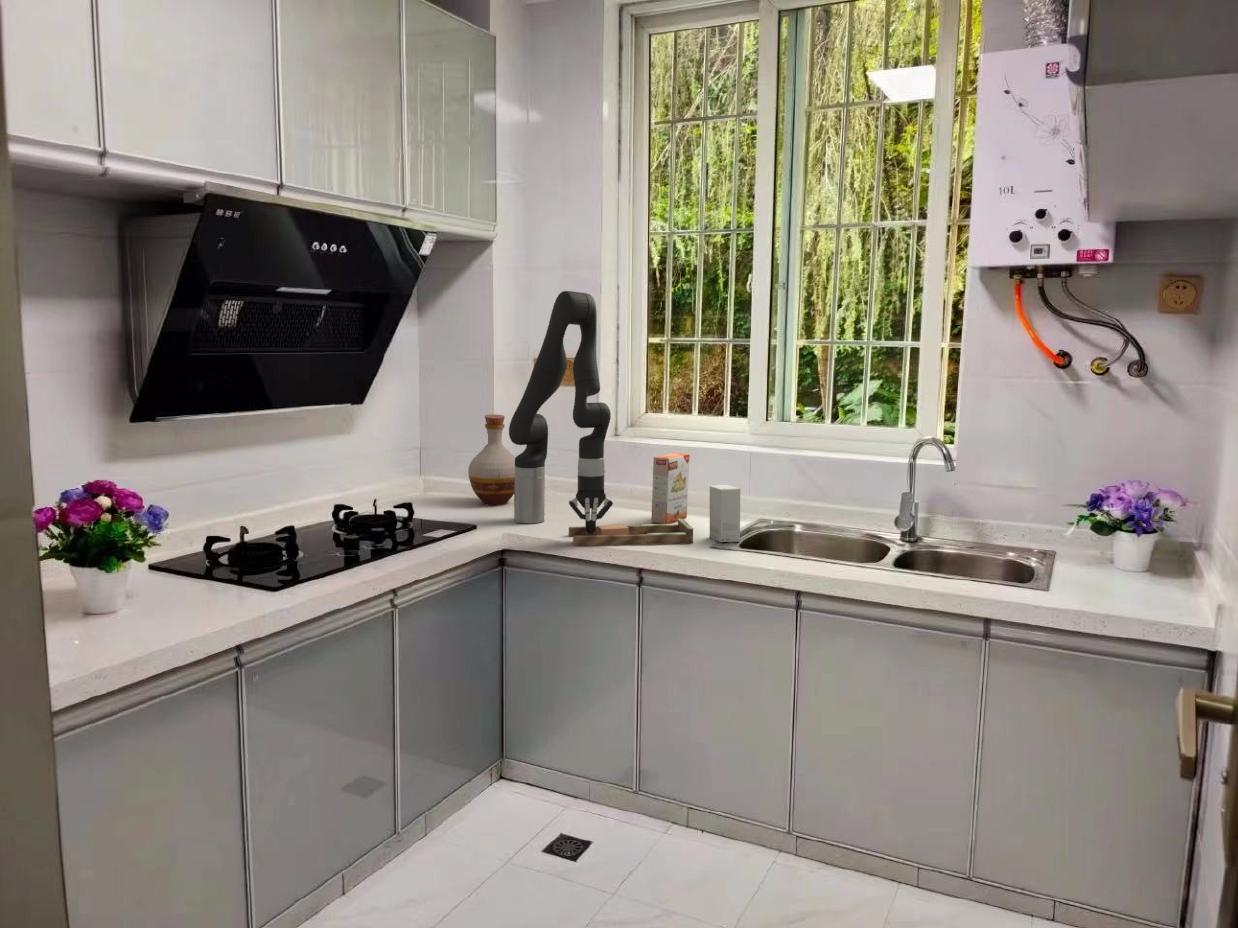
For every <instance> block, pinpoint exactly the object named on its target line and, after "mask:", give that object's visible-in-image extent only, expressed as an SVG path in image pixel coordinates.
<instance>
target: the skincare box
mask: <svg viewBox="0 0 1238 928" xmlns="http://www.w3.org/2000/svg"><path fill="white" fill-rule="evenodd" d="M709 538H710V539H712V540H714V541H716V542H718V541H719V542H718V543H720V542H729V543H739V542H740V541H741V488H740V487H737V486H736V487H735V486H733V485H731V484H719V485H716V484H715V485H709Z"/></svg>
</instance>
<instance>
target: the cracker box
mask: <svg viewBox="0 0 1238 928" xmlns="http://www.w3.org/2000/svg"><path fill="white" fill-rule="evenodd" d="M652 463H653V468H652V491H651V493H652V495H651V517H650V518H651V520H650V522H651V523H652V524H673V523H674V522H678V519H684V520H685V519H686V518H687V517H688V498H689V495H688V493H689V477H690V476H689V475H690V474H689V473H690V454H689V453H686V452H685V453H683V452H671V453H667V454H661V455H658V456H653V462H652Z"/></svg>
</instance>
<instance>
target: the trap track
mask: <svg viewBox="0 0 1238 928" xmlns="http://www.w3.org/2000/svg"><path fill="white" fill-rule="evenodd" d="M597 526H598V525H596V531H595V532H593V534H588V532H586V529H585V526H568V537H572V543H573V544H572V545H573V546H574V547H579V546H580V547H581V546H582V547H584V546H627V545H633V546H634V545H667V544H669V545H673V544H674V545H676V544H693V543H694V527H692V525H691V524H689V523H688V522H687V521H686V519H685V518H684V519H678V521H677V523H669V524H658V523H652V524H651V523H650V524H649V523H648V524H645V523H644V524H643V523H641V524H638V525H626V526H627V527H628V528H629V535H597Z"/></svg>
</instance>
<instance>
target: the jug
mask: <svg viewBox="0 0 1238 928" xmlns="http://www.w3.org/2000/svg"><path fill="white" fill-rule="evenodd" d="M505 417H506V416H505V415H503V414H498V413H495V414H494V413H493V414H486V415H484V418H485V424H484V427H485V429H486V434H488V444H487V445H486V446H485V447H484V446H483V448H482V450H481V451H479V453H477V454H476V455H475V457H473V458H472V460H471V461H470V463H469V466H468V468H467V469H468V471H467V472H468V480H469V483H470V486H471V488H472V490H473V492H474V494H475V495H476V497H477V498H478V499H479V501H481V503H482V504H483V503H484V504H483V505H486V504H488V505H487V506H503V505H507V504H508V503H509V501H510V500H511V499H512V497H514V489H515V458H516V456H514V455H513V454H512V453H511V452H510V451H509V450H508V448H506V447H505V446H504V445H503V441H502V439H503V430H504V428H505V424H504V422H505Z"/></svg>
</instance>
